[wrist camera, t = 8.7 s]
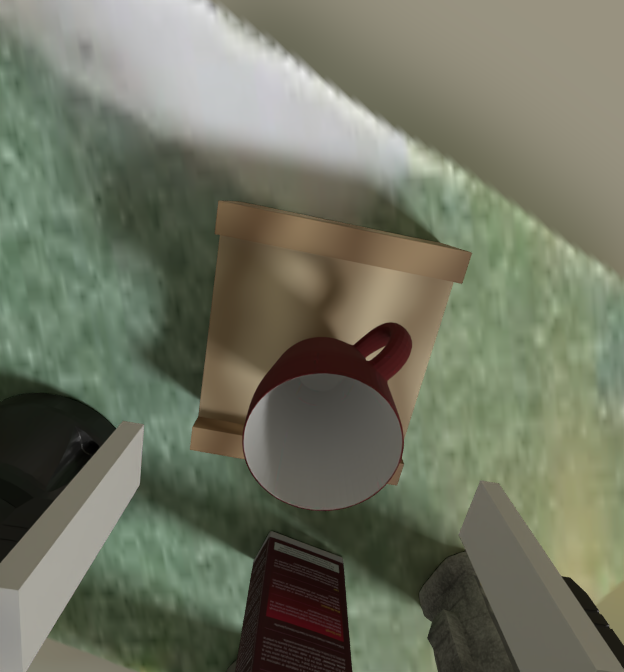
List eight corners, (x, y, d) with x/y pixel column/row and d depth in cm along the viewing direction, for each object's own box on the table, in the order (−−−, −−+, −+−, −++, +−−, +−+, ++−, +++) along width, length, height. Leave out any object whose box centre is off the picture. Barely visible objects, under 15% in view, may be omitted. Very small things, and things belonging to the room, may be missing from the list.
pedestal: (211, 407, 36) (189, 449, 30) (238, 201, 30) (218, 200, 24) (383, 437, 36) (397, 485, 30) (441, 243, 31) (472, 252, 25)
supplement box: (252, 560, 41) (214, 764, 26) (270, 528, 40) (242, 723, 25) (325, 587, 43) (330, 798, 27) (346, 557, 41) (362, 760, 26)
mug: (338, 262, 26) (350, 295, 17) (423, 336, 28) (477, 404, 19) (243, 372, 29) (208, 453, 20) (326, 434, 31) (330, 537, 21)
